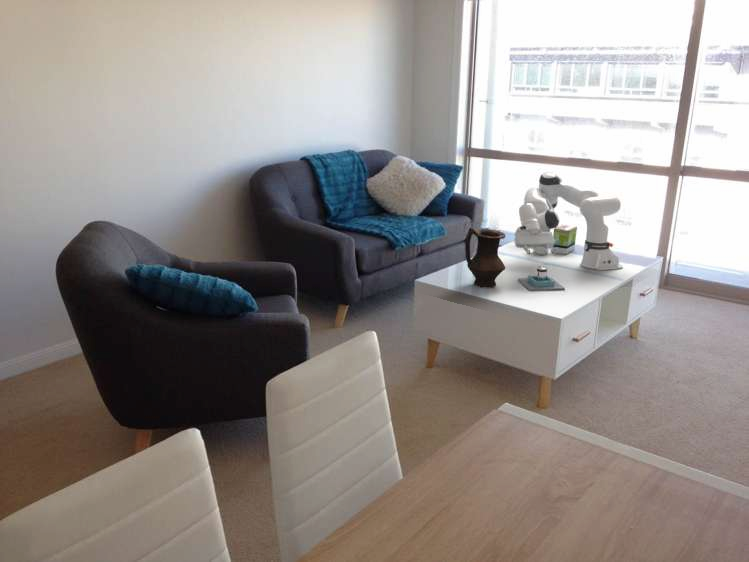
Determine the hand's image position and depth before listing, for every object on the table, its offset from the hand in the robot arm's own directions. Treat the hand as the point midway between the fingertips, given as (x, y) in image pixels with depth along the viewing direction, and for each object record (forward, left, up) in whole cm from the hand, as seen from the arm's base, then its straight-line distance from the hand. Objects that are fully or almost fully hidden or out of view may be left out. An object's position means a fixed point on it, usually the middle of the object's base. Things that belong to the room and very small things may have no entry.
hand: (537, 253), depth 330 cm
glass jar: (-1, +6, -14) cm, 15 cm away
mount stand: (-1, +6, -15) cm, 16 cm away
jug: (+28, +3, -15) cm, 32 cm away
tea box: (-40, -61, -15) cm, 75 cm away
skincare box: (-24, -57, -15) cm, 64 cm away
